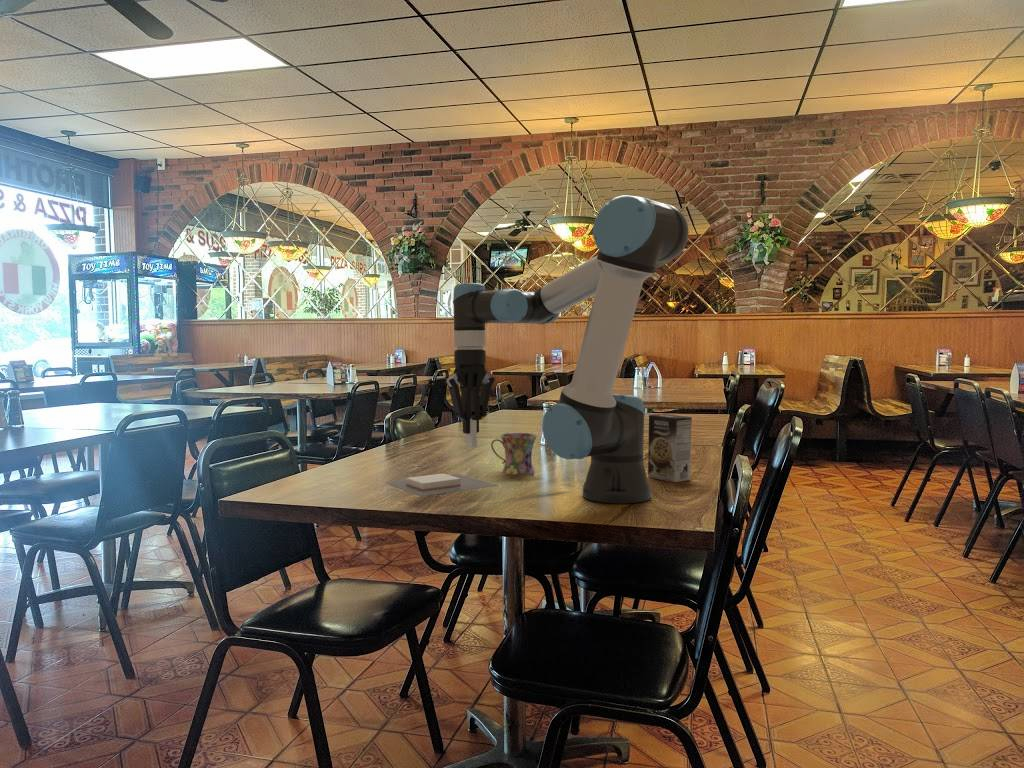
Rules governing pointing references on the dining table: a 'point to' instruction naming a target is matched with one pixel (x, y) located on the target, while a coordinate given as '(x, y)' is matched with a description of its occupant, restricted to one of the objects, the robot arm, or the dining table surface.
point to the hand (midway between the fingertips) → (471, 446)
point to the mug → (517, 452)
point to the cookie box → (669, 447)
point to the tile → (433, 481)
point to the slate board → (466, 484)
